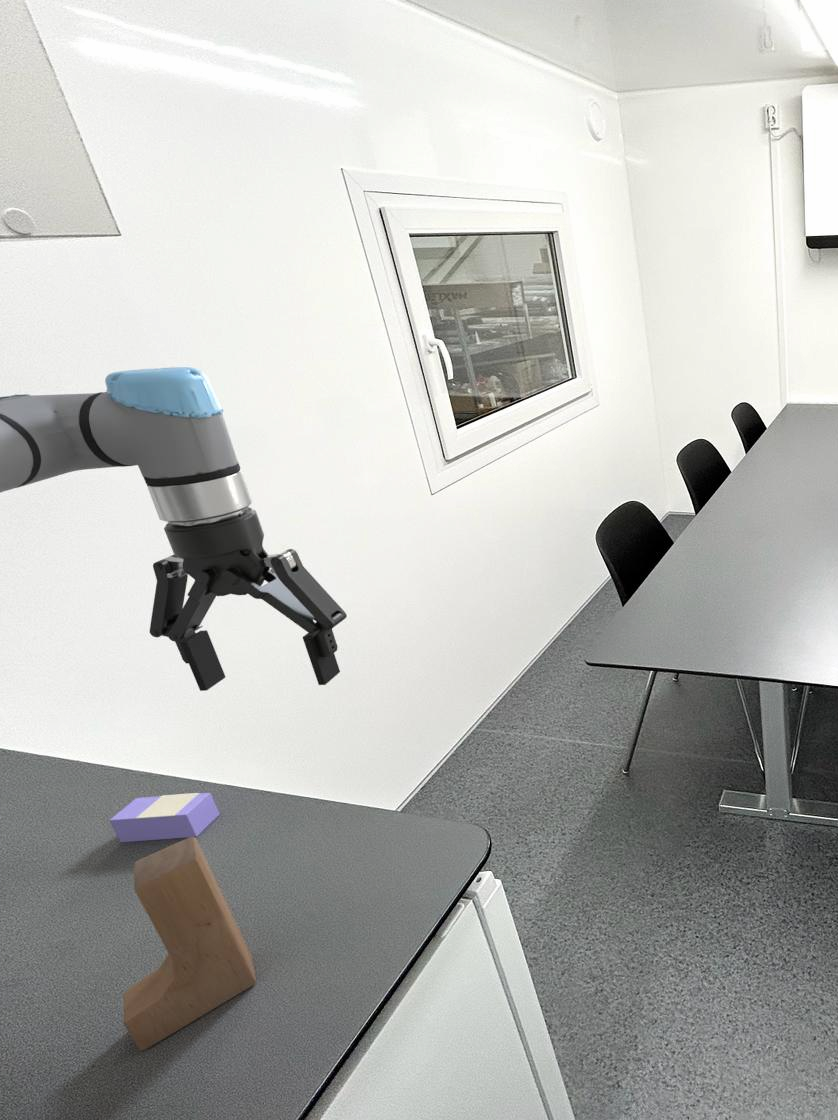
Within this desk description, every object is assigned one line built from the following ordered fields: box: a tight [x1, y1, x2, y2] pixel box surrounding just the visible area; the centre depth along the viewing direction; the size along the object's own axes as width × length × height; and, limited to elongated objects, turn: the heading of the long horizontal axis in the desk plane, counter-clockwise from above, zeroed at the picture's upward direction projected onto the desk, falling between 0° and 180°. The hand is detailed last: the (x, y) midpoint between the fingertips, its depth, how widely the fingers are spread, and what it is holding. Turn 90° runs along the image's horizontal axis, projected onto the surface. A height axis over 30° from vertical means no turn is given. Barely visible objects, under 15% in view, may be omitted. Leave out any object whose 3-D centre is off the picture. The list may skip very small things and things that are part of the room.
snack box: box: [109, 792, 221, 843], centre depth 87 cm, size 10×4×4 cm, turn 94°
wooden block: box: [123, 837, 257, 1051], centre depth 62 cm, size 9×4×18 cm, turn 136°
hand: (271, 681), depth 74 cm, fingers open, 13 cm apart
